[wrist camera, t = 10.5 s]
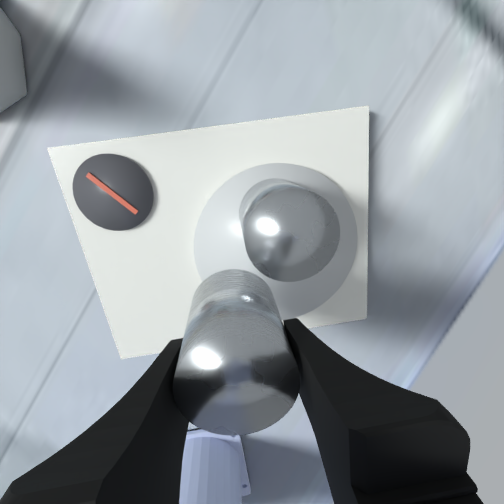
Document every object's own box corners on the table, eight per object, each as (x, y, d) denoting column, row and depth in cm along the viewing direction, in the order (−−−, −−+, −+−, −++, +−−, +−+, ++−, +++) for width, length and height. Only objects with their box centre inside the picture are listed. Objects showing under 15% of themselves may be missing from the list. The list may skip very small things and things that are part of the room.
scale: (360, 310, 23) (370, 323, 21) (126, 348, 22) (118, 364, 21) (360, 108, 18) (374, 103, 16) (58, 148, 17) (40, 147, 16)
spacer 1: (284, 328, 16) (312, 413, 10) (208, 352, 16) (199, 449, 11) (261, 257, 14) (281, 316, 9) (178, 284, 14) (151, 358, 9)
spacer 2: (299, 250, 19) (327, 286, 14) (234, 242, 18) (238, 276, 13) (314, 183, 18) (350, 196, 12) (244, 173, 17) (252, 181, 12)
